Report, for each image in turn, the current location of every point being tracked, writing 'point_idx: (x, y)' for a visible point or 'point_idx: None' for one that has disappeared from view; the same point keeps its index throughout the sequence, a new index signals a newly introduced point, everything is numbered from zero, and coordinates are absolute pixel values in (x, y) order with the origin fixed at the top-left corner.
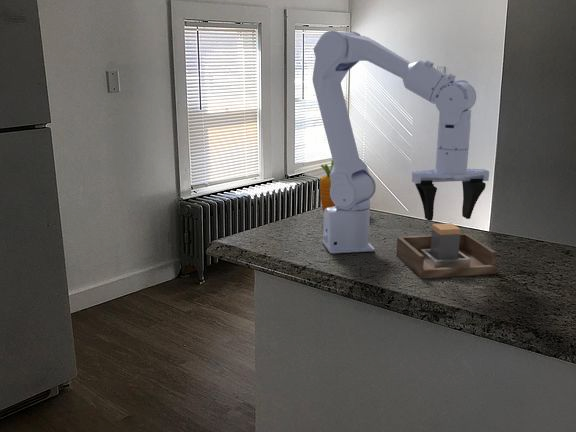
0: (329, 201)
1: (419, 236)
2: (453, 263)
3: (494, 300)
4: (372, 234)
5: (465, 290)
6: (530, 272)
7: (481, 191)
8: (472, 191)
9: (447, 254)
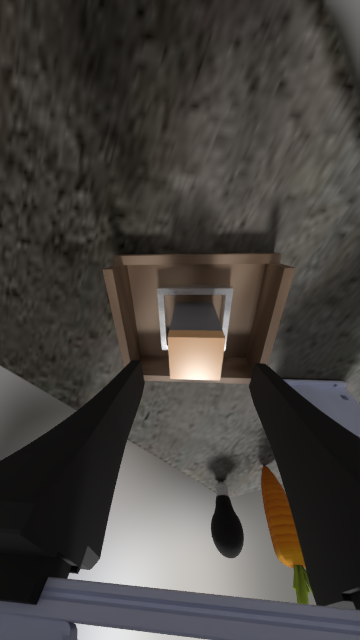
0: (284, 502)
1: (220, 379)
2: (192, 286)
3: (184, 62)
4: (235, 429)
5: (220, 160)
6: (55, 251)
7: (23, 451)
8: (80, 460)
9: (197, 309)
